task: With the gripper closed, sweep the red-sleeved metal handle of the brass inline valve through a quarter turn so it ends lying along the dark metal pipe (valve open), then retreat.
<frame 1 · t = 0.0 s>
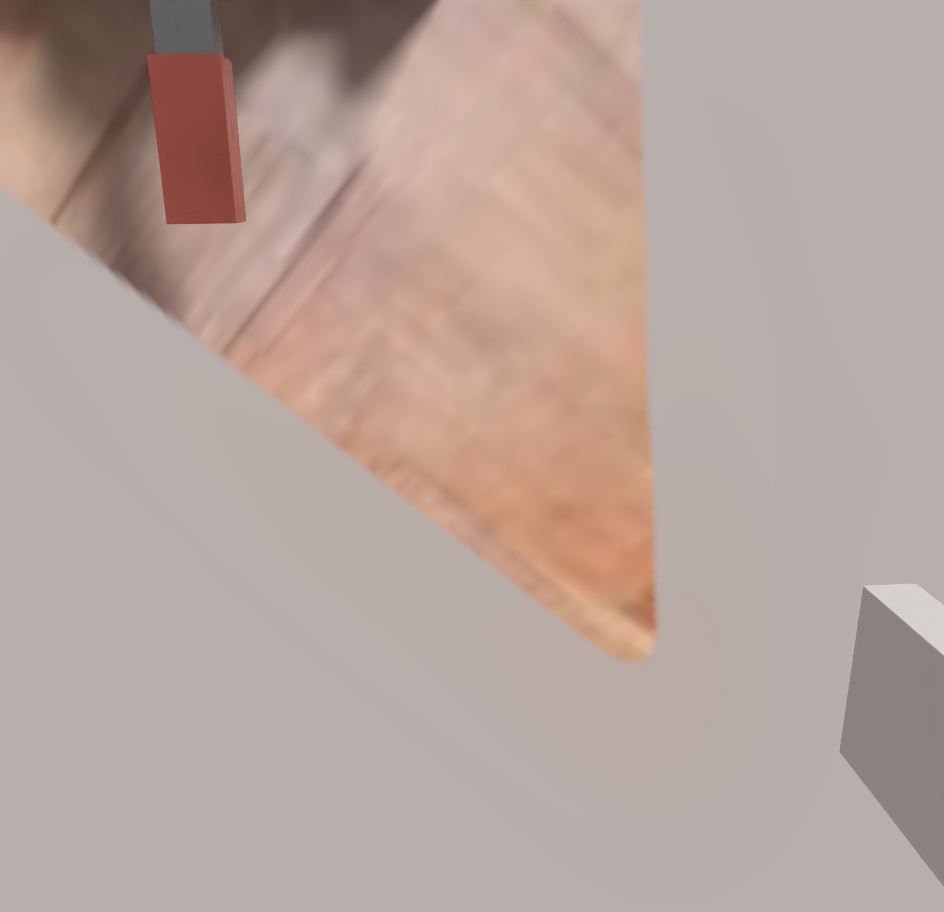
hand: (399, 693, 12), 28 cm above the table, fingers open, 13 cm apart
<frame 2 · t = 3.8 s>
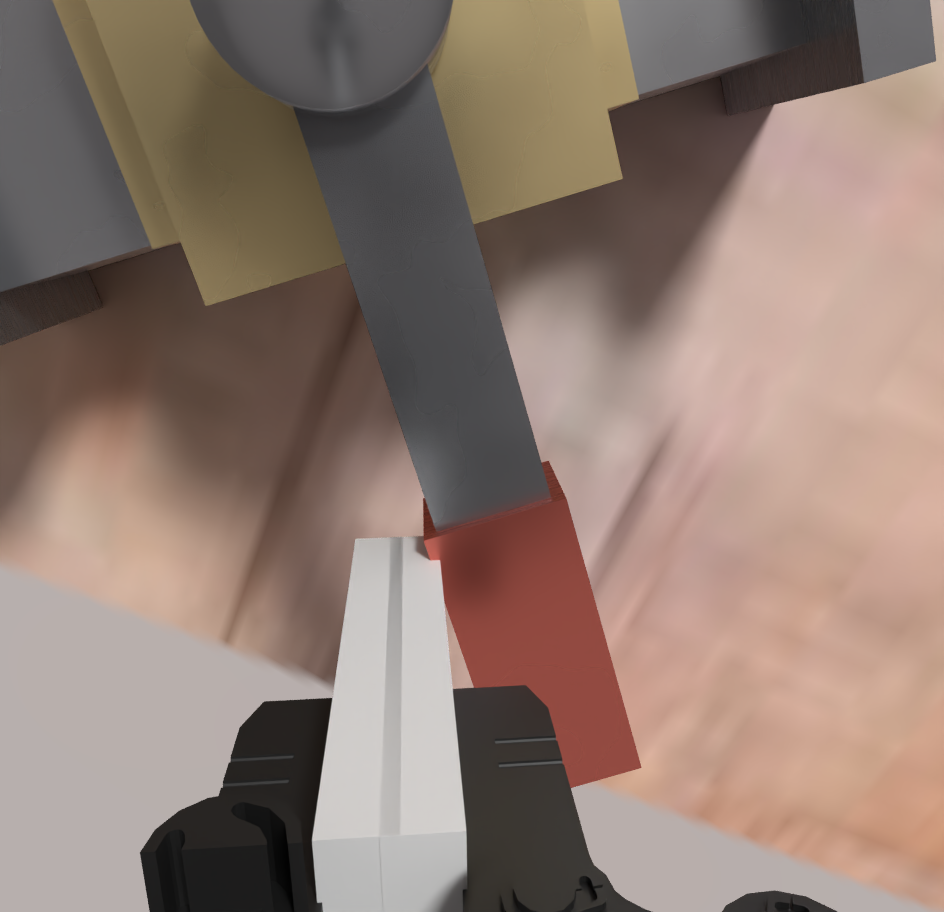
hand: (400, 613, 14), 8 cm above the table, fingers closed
valve body: (368, 71, 19), on the table
lever: (452, 376, 13), point 8 cm above the table, hinge at 0.3°, touching gripper
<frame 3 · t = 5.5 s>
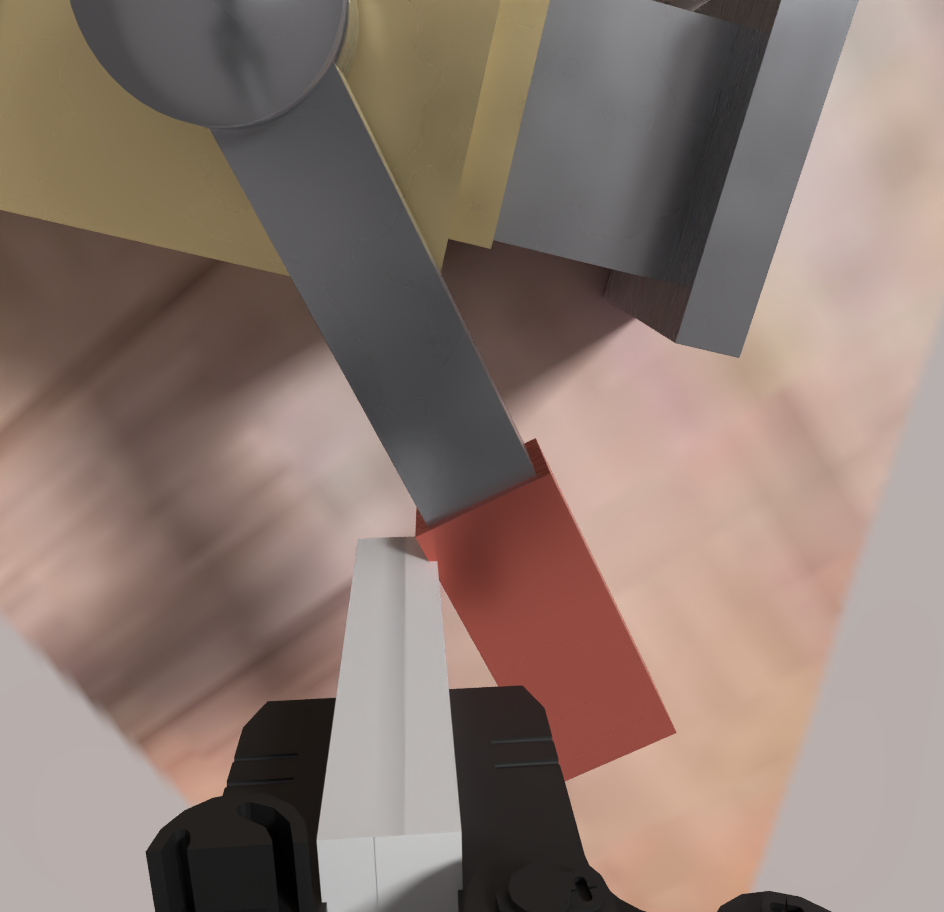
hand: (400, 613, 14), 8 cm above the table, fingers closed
valve body: (314, 81, 19), on the table
lever: (419, 369, 12), point 8 cm above the table, hinge at 39.3°, touching gripper
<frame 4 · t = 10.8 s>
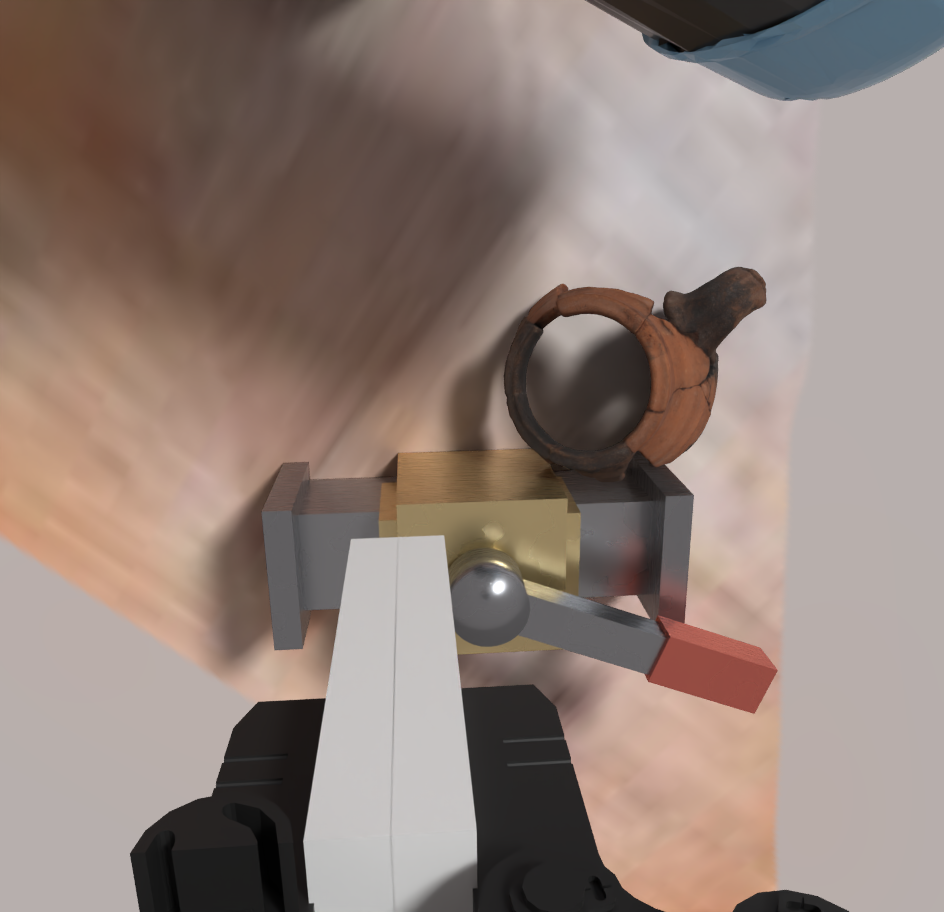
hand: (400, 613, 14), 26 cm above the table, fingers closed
pottery mug: (622, 352, 40), on the table
valve body: (470, 517, 42), on the table
lever: (608, 634, 35), point 9 cm above the table, hinge at 68.5°
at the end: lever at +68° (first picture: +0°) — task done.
